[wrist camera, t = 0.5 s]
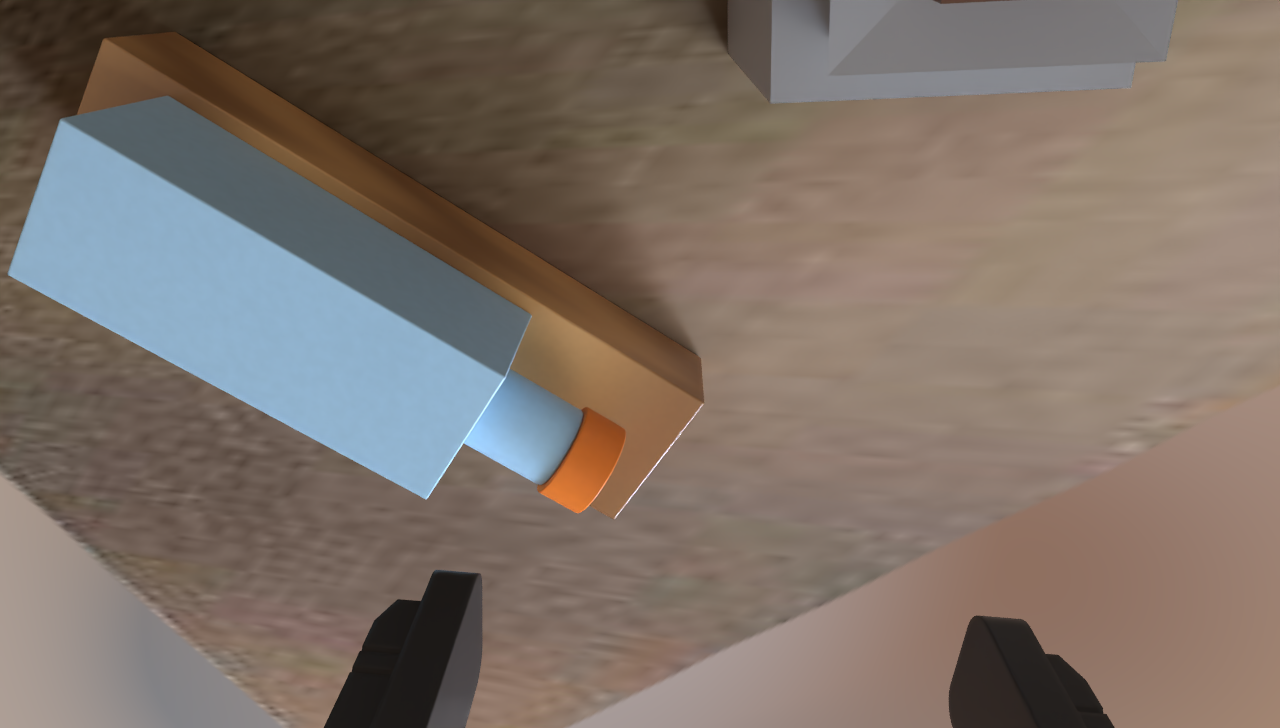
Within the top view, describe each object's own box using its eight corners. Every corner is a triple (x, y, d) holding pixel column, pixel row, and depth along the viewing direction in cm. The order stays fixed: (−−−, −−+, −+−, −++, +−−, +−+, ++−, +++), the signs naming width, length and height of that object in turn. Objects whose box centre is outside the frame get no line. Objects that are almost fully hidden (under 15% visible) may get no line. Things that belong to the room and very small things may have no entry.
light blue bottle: (116, 226, 28) (6, 274, 23) (167, 94, 26) (59, 117, 21) (570, 482, 31) (552, 568, 26) (644, 381, 29) (638, 455, 25)
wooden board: (119, 177, 31) (45, 202, 27) (174, 30, 29) (102, 37, 25) (620, 465, 35) (614, 520, 32) (701, 357, 33) (705, 403, 29)
